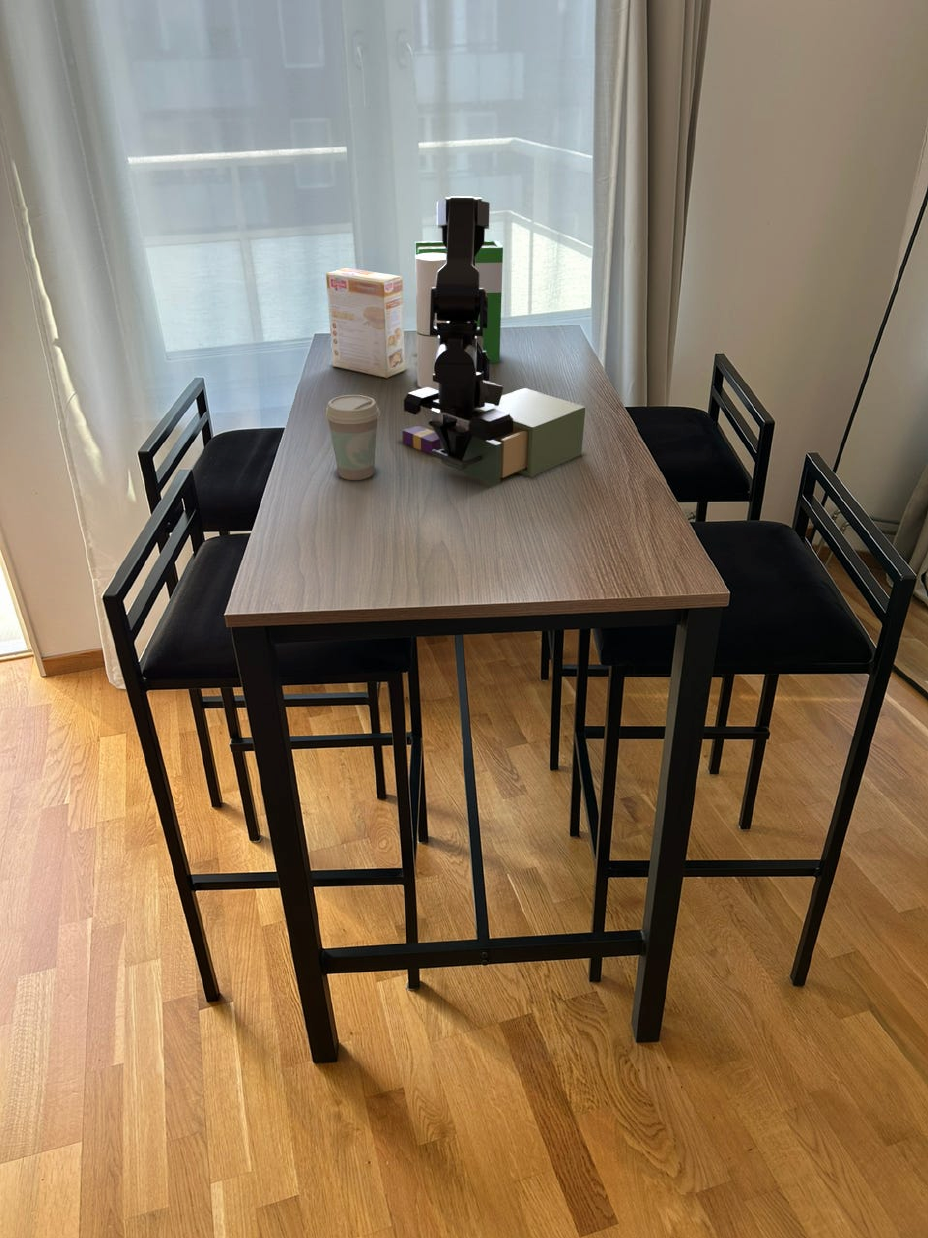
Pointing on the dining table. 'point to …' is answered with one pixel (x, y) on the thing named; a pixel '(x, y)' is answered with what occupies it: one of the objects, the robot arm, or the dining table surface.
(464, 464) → the drawer
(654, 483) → the dining table surface
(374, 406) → the coffee cup
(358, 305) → the coffeecake box
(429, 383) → the cylindrical container
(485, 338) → the green white box
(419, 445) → the chocolate bar
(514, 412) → the cabinet
